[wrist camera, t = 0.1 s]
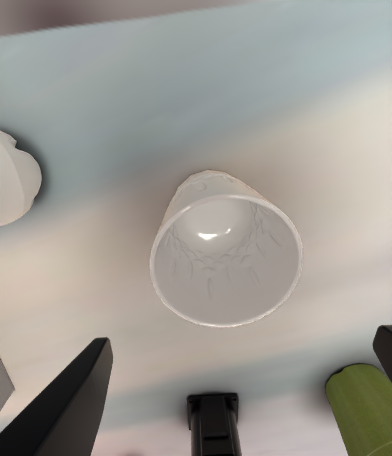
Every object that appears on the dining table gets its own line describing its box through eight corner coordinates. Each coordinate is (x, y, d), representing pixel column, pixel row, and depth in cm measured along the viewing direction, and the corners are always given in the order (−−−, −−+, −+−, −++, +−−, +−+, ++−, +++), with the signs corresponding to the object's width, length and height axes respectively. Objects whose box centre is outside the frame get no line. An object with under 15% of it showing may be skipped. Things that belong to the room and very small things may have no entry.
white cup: (161, 242, 23) (144, 322, 14) (170, 156, 20) (155, 183, 11) (244, 251, 24) (280, 333, 14) (264, 169, 21) (326, 205, 11)
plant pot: (405, 395, 33) (505, 520, 23) (317, 420, 34) (374, 548, 24) (396, 334, 29) (515, 455, 18) (296, 366, 30) (354, 494, 20)
